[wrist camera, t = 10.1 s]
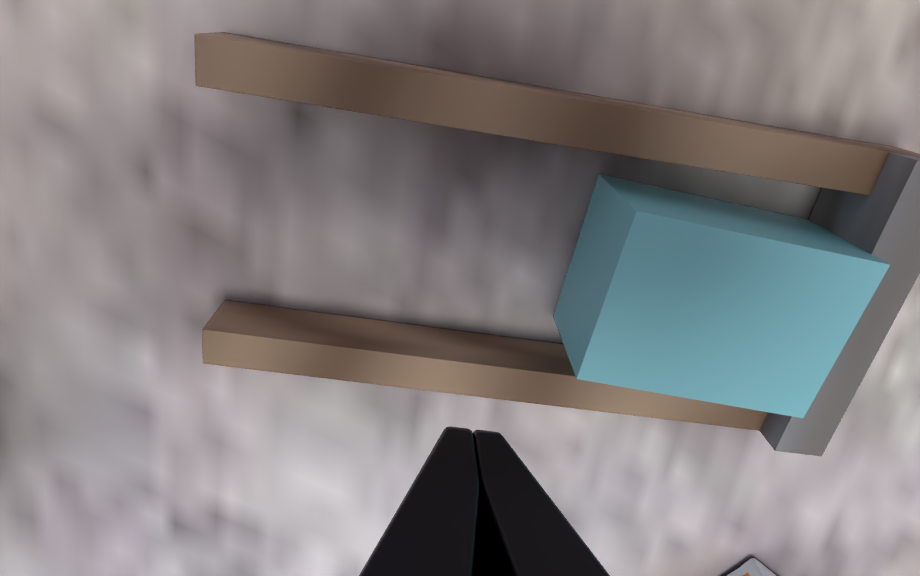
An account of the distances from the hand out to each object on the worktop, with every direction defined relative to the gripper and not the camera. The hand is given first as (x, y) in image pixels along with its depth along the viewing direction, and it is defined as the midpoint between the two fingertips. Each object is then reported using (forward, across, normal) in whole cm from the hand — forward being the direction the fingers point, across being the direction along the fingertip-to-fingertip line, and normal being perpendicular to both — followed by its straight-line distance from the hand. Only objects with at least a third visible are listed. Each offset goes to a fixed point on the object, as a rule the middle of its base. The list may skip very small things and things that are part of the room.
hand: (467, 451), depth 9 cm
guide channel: (+10, -3, 0) cm, 11 cm away
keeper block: (+11, -7, 0) cm, 13 cm away
